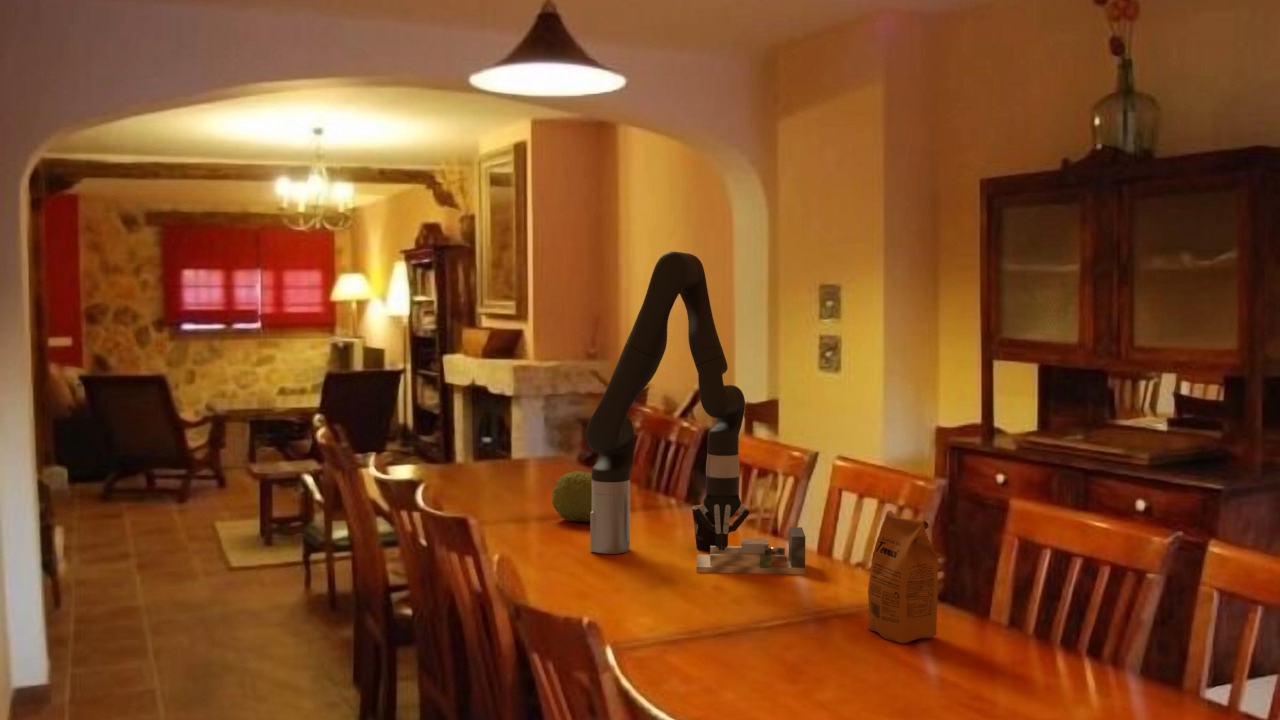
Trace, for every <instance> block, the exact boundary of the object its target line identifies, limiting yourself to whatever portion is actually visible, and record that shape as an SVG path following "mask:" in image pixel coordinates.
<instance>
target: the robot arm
mask: <svg viewBox="0 0 1280 720" xmlns="http://www.w3.org/2000/svg"><path fill="white" fill-rule="evenodd" d="M708 290H709V289H708V284H707V278H706V273H705V267H704V266H703V263H702V261H701V260H700V259H699V258H698V257H697V256H696V255H695V254H692V253H688V252H680V251H668V252H665V253H664V254H663V255H661V256H660V258H658V259H657V262H656V263H655V266H654V268H653V271H652V274H651V277H650V281H649V283H648V287H647V290H646V294H645V296H644V300H643V302H642V305H641V307H640V310H639V311H638V314H637V316H636V318H635V321H634V324H633V327H632V329H631V331H630V334H629V336H628V337H627V339H626V342H625V343H624V344H625V345H624V347H623V349H622V351H621V354H620V356H619V359H618V361H617V363H616V366H615V368H614V370H613V373H612V375H611V376H610V380H609V382H608V385H607V387H606V390H605V391H604V394H603V396H602V398H601V399H600V401H599V403H598V405H597V407H596V409H595V410H594V412H593V414H592V415H591V417H590V419H589V421H588V424H587V426H586V428H585V429H586V430H585V437H586V438H585V439H586V442H587V444H588V446H589V448H590V449H591V450H592V451H594V452H596V453H599V454H598V458H597V460H596V462H595V464H594V465H593V467H592V468H591V473H592V511H591V513H590V521H589V522H590V524H589V525H590V527H589V530H590V533H589V534H590V537H589V539H590V540H589V542H590V546H589V547H590V548H589V549H590V550H589V551H590V553H597V554H603V555H604V554H605V555H606V554H607V555H614V554H623V553H627V552H629V551H630V550H631V549H630V547H631V545H630V544H631V480H630V479H631V471H632V469H633V465H634V458H635V457H634V451H635V428H634V425H633V422H632V420H631V419H630V417H629V416H628V413H629V411H630V409H631V407H632V406H633V404H634V402H635V401H636V399H637V398H638V397H639V396H640V394H641V393H642V392H643V391H644V389H645V388H646V387H647V386H648V384H649V383H650V382H651V381H652V379H653V377H654V376H655V374H656V372H657V370H658V368H659V367H660V364H661V361H662V359H663V357H664V355H665V351H666V348H667V344H668V343H667V342H668V324H669V323H668V322H669V317H670V314H671V311H672V309H673V306H674V304H675V302H676V300H677V298H678V297H679V296H680V297H681V300H682V302H683V305H684V307H685V310H686V315H687V322H688V327H687V328H688V332H687V333H688V334H687V335H688V344H689V349H690V353H691V357H692V359H693V362H694V366H695V368H696V372H697V376H698V379H697V380H698V391H699V400H700V404H701V406H702V409H703V410H704V411H705V413H706V414H707V415H708V416H709V417H711V418H715V419H716V423H715V426H713V427H712V428H711V429H709V431H707V432H708V434H707V456H706V462H705V463H706V464H705V497H704V499H703V503H702V504H700V505H701V506H699V507H696V508H695V513H696V515H697V516H698V517H699V519H700V520H701V521H702V522H703V524H704V525H705V526H706V528H707V529H708V530H709V531H713V532H714V533H715V545H716V547H718V550H721V548H722V550H725V548H727V546H729V533H732V532H736V531H737V530H738V528H739V527H740V526H741V525H742V524H743V522H744V521H745V520H746V519H747V518H748V516H749V515H750V509H749V508H748V507H745V506H744V505H743V504H742V500H741V498H740V472H741V469H740V458H739V457H740V456H739V445H740V444H739V437H740V431H741V428H742V424H743V420H744V416H745V410H746V401H745V395H744V393H743V392H742V389H740V388H739V387H738V386H737V385H732V384H727V385H726V384H725V385H724V380H723V375H724V374H725V373H726V372H727V371H728V367H729V366H728V362H727V358H726V355H725V353H724V349H723V347H722V345H721V344H722V343H721V341H720V337H719V336H718V331H717V329H716V324H715V321H714V315H713V311H712V307H711V301H710V297H709V291H708ZM705 508H706V509H707V510H708V511H709V513H710V514H711V516H712V517H714V518H715V525H712V523H711V522H710V521H709V519H708V518H707V517H706V516H705V514H706V511H705ZM737 511H738V515H737V518H736V519H735V520H734V521H733V523H732V524H730V518H732V517H733V516H734V515H735V514H736V512H737ZM720 518H724V523H723V532H721V524H720Z"/></svg>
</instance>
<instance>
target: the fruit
mask: <svg viewBox="0 0 1280 720" xmlns="http://www.w3.org/2000/svg"><path fill="white" fill-rule="evenodd" d="M551 495H552V500H551V501H552V503H551V504H552V507H553V508H554V509H555V511H556V513H557V514H558V515H559V516H560V517H561V518H562V519H564V520H565V521H568V522H584V523H587V522H590V513H591V511H592V472H586V471H580V470H575V471H572V472H568V473H565V474H563V475H561V477H559V478H558V479H557V481H556V482H555V485H554V488H553V490H552V494H551Z"/></svg>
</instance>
